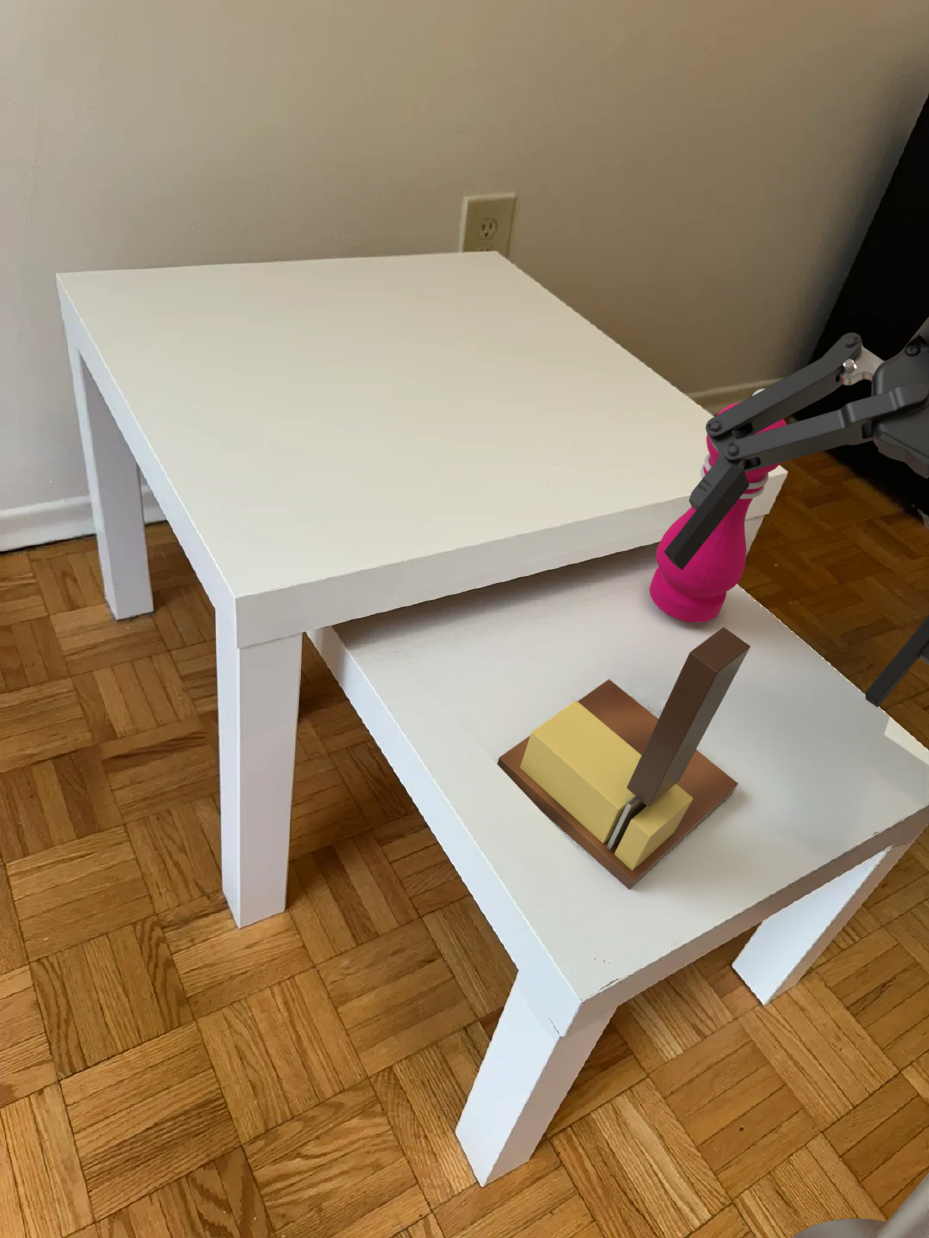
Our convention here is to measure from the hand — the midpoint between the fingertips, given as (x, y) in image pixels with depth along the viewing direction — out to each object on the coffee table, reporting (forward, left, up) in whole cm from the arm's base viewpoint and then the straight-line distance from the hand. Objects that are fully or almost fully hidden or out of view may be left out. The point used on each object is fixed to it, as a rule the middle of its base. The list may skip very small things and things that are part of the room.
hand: (766, 627), depth 53 cm
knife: (0, +6, -15) cm, 16 cm away
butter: (+3, +6, -16) cm, 17 cm away
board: (+4, +2, -17) cm, 18 cm away
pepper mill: (+12, -18, -17) cm, 27 cm away
